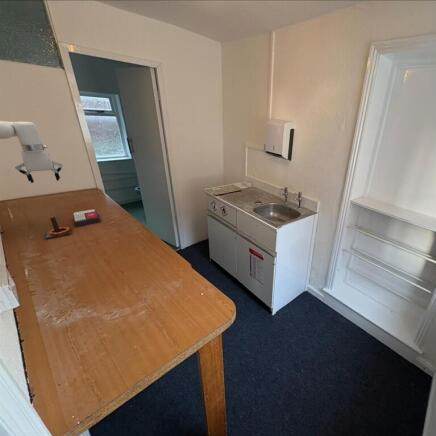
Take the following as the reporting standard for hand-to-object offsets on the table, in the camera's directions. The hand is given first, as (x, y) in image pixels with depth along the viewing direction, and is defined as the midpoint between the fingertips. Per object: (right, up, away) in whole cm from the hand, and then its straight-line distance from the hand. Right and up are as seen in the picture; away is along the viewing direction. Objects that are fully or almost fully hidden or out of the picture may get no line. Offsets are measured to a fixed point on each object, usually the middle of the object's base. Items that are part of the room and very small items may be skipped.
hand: (45, 181), depth 123 cm
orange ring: (+6, -27, +1) cm, 27 cm away
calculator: (+6, -21, +18) cm, 29 cm away
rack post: (+6, -28, +1) cm, 29 cm away
